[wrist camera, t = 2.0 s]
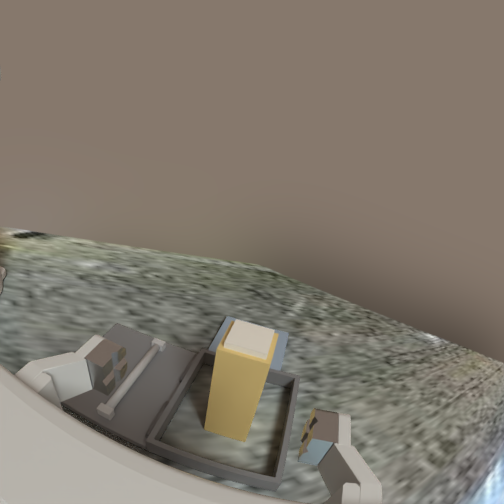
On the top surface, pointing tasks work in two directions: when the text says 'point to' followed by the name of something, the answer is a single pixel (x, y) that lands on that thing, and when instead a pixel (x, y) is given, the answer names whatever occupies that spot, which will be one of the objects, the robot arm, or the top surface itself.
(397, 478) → the top surface
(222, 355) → the block
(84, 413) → the case
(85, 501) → the robot arm
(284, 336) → the mat
